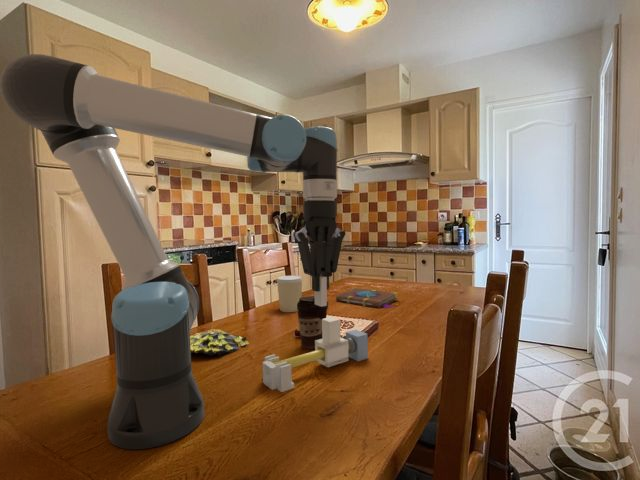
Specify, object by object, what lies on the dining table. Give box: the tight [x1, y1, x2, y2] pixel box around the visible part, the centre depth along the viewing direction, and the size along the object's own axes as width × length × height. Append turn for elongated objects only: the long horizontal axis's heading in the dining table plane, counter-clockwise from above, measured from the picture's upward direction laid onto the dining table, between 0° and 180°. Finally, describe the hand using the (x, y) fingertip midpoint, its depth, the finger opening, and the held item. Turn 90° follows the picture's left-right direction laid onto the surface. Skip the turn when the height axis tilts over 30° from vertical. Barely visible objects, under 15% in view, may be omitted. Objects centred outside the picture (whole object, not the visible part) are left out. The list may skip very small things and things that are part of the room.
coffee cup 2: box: [297, 295, 329, 350], centre depth 97 cm, size 9×8×13 cm
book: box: [335, 287, 400, 309], centre depth 144 cm, size 16×25×5 cm, turn 51°
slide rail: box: [262, 329, 369, 393], centre depth 82 cm, size 26×8×6 cm, turn 125°
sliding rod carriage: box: [314, 316, 350, 368], centre depth 84 cm, size 6×5×10 cm
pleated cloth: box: [190, 328, 250, 357], centre depth 100 cm, size 20×16×6 cm
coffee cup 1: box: [276, 275, 303, 313], centre depth 135 cm, size 9×9×12 cm
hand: (320, 304), depth 82 cm, fingers closed
